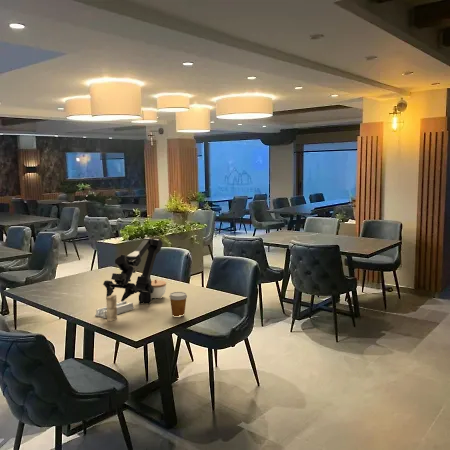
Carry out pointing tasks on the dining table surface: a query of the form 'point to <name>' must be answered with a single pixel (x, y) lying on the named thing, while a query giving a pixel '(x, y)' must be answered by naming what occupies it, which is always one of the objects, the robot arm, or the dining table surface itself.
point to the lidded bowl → (158, 288)
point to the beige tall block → (111, 307)
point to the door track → (120, 309)
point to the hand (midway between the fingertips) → (114, 300)
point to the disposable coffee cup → (178, 303)
